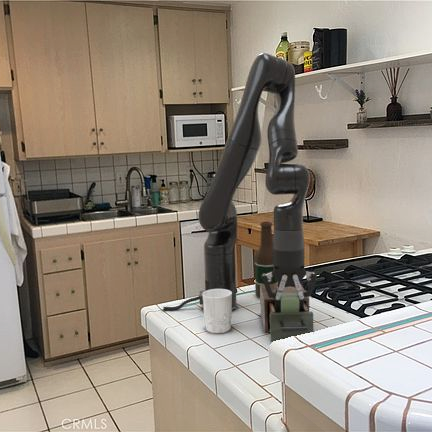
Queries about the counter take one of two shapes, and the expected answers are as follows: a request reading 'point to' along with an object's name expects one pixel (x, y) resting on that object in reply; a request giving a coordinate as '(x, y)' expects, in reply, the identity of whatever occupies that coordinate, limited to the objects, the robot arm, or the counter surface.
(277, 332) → the drawer
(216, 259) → the robot arm
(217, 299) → the white cup
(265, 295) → the cabinet
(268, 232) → the beer bottle
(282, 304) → the block
